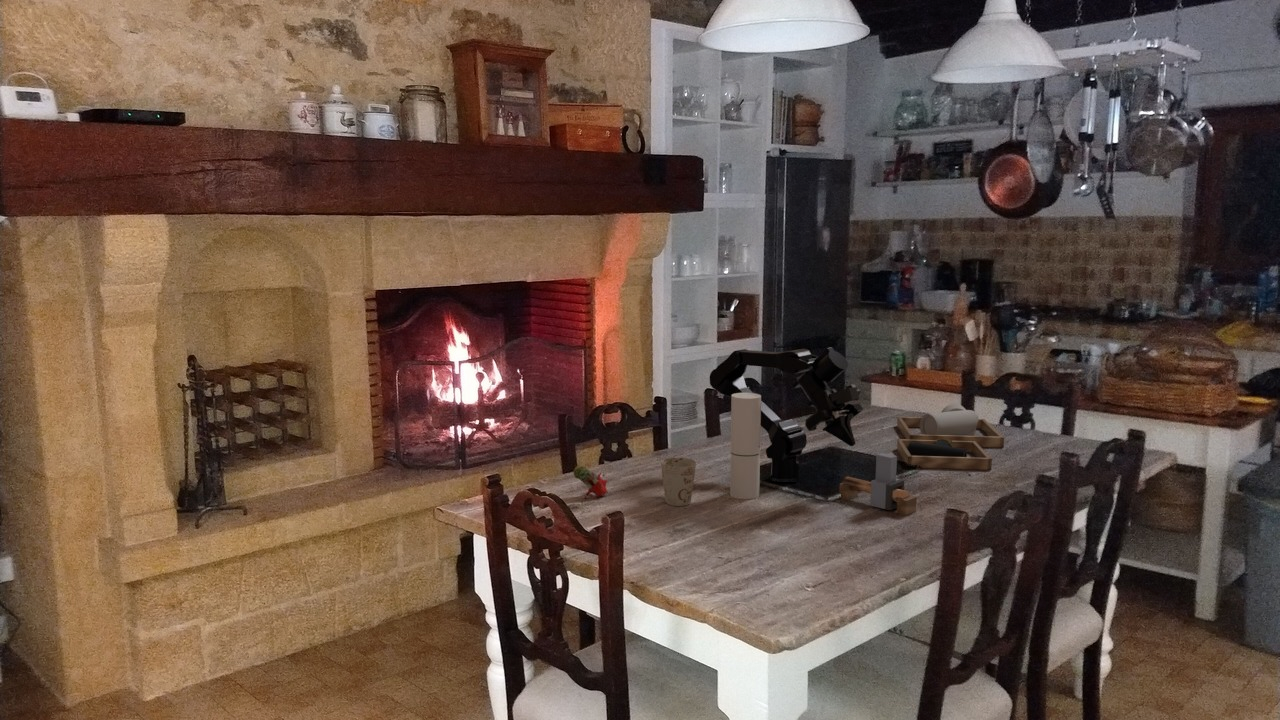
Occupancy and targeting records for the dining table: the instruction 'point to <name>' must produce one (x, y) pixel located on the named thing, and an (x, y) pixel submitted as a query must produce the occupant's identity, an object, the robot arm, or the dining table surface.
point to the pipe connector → (936, 449)
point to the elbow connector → (950, 422)
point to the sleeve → (883, 478)
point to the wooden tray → (976, 462)
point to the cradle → (903, 505)
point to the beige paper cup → (678, 480)
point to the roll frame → (983, 441)
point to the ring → (889, 493)
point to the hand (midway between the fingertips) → (853, 445)
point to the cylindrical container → (745, 445)
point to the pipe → (866, 488)
